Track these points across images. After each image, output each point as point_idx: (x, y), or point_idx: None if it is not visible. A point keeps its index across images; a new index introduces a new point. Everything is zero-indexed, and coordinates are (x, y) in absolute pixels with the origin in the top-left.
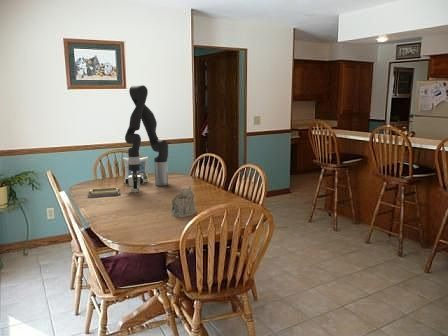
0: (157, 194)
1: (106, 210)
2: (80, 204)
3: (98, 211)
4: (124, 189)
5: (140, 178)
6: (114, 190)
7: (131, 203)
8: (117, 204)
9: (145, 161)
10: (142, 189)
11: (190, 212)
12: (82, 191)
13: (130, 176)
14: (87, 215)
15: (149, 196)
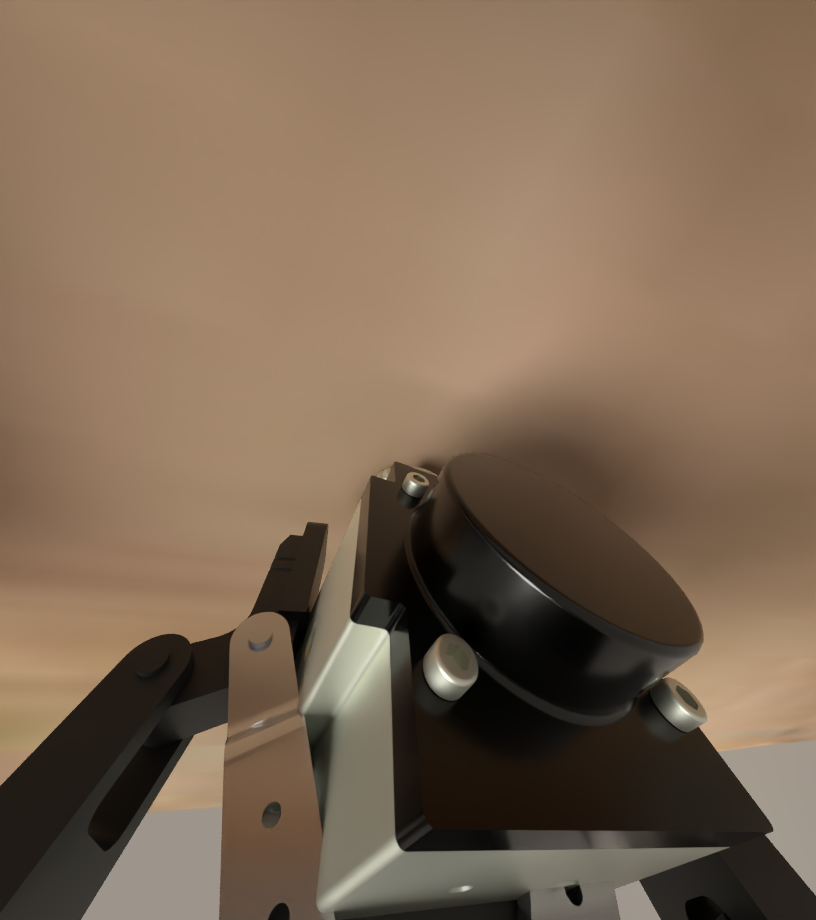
0: (798, 216)
1: (761, 704)
2: None
3: (736, 725)
4: (199, 587)
5: (688, 726)
6: None
7: (790, 598)
8: (711, 664)
9: None
10: (268, 372)
11: None
12: (205, 788)
13: None
14: (745, 747)
15: (763, 396)
